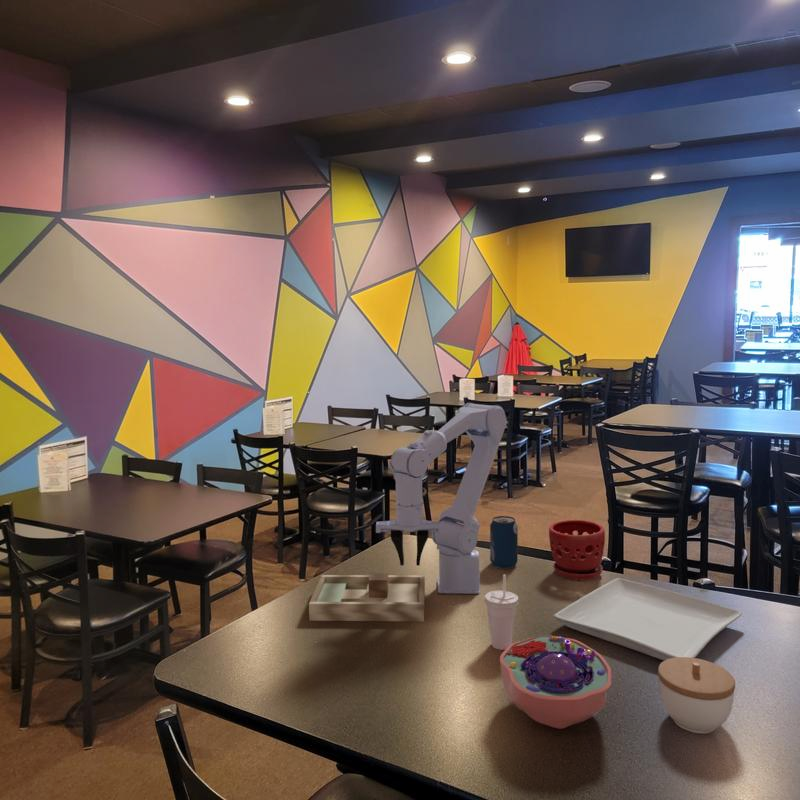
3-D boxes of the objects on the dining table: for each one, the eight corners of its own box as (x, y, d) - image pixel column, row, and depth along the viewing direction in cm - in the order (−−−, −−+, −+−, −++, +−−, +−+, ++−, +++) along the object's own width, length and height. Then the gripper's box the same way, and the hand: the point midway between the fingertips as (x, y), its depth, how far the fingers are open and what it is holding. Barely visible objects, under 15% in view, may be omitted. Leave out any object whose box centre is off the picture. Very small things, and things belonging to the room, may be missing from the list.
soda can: (522, 564, 169) (523, 518, 168) (507, 571, 164) (507, 524, 163) (500, 558, 174) (500, 513, 173) (484, 565, 169) (484, 519, 168)
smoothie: (517, 654, 123) (518, 582, 122) (483, 651, 124) (483, 580, 123) (518, 638, 129) (519, 569, 128) (485, 636, 131) (485, 567, 129)
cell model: (604, 684, 112) (606, 621, 111) (615, 759, 93) (617, 684, 92) (504, 674, 116) (504, 612, 115) (494, 744, 97) (494, 671, 96)
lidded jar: (728, 708, 105) (730, 652, 104) (738, 749, 95) (741, 687, 94) (655, 697, 108) (657, 642, 107) (658, 735, 98) (659, 676, 97)
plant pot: (573, 560, 171) (574, 515, 170) (615, 576, 161) (616, 528, 159) (537, 571, 164) (537, 524, 163) (578, 588, 153) (579, 538, 152)
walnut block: (388, 590, 148) (388, 573, 147) (387, 597, 144) (386, 580, 143) (370, 590, 148) (370, 573, 147) (368, 597, 144) (368, 580, 143)
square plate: (616, 591, 152) (616, 575, 152) (743, 628, 133) (744, 610, 133) (551, 630, 134) (551, 611, 133) (688, 680, 114) (688, 658, 114)
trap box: (424, 590, 153) (424, 575, 153) (423, 621, 138) (423, 604, 137) (322, 590, 155) (321, 575, 154) (309, 620, 139) (308, 603, 138)
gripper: (374, 508, 139) (375, 570, 141) (443, 508, 139) (443, 570, 140) (377, 499, 146) (378, 558, 148) (442, 499, 146) (443, 559, 147)
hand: (410, 563), depth 145 cm, fingers open, 3 cm apart
